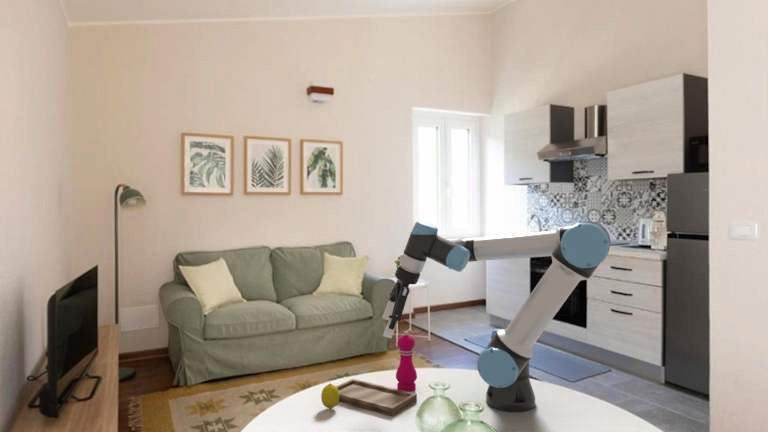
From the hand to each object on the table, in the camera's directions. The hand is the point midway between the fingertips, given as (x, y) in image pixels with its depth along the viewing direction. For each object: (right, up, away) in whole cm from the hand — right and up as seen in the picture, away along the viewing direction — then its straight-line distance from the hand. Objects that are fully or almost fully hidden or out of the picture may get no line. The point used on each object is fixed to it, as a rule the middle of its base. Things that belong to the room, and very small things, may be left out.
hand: (386, 327), depth 165 cm
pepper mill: (+7, -23, +10) cm, 26 cm away
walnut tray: (-5, -23, 0) cm, 24 cm away
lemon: (-17, -24, -8) cm, 30 cm away
